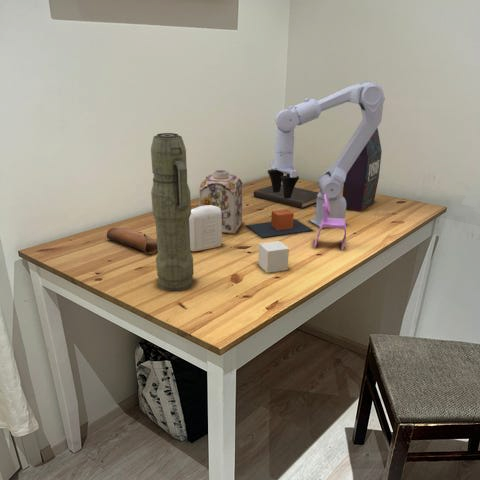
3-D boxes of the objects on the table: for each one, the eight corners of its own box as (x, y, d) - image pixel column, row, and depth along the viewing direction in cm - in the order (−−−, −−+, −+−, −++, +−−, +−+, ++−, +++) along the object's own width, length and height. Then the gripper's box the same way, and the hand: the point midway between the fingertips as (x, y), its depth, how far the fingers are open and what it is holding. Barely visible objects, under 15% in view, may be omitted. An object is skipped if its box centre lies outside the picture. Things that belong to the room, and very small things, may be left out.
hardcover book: (278, 189, 200) (278, 183, 199) (325, 200, 187) (326, 194, 186) (253, 196, 190) (253, 190, 188) (301, 208, 176) (302, 202, 175)
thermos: (176, 296, 115) (168, 140, 97) (147, 280, 122) (134, 133, 104) (205, 285, 120) (201, 136, 103) (175, 271, 127) (167, 129, 110)
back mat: (294, 220, 165) (294, 218, 165) (312, 231, 156) (312, 229, 156) (246, 226, 159) (246, 225, 159) (262, 238, 150) (262, 236, 149)
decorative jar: (208, 220, 164) (207, 165, 155) (242, 222, 162) (243, 167, 153) (199, 231, 154) (197, 174, 145) (235, 234, 152) (235, 176, 143)
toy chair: (344, 251, 141) (351, 200, 133) (314, 249, 142) (318, 198, 135) (344, 241, 148) (350, 192, 140) (315, 239, 149) (320, 190, 142)
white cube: (278, 261, 134) (279, 240, 131) (287, 269, 129) (289, 248, 126) (258, 264, 132) (258, 243, 129) (266, 272, 127) (267, 251, 124)
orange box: (286, 224, 160) (287, 209, 158) (292, 228, 157) (293, 213, 154) (270, 226, 158) (271, 211, 156) (277, 230, 155) (278, 215, 152)
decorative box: (375, 201, 186) (387, 123, 172) (361, 212, 174) (373, 129, 160) (355, 198, 190) (365, 121, 176) (339, 208, 177) (349, 127, 164)
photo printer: (216, 242, 146) (216, 201, 140) (224, 246, 143) (223, 205, 137) (186, 248, 141) (184, 206, 135) (193, 253, 138) (191, 210, 132)
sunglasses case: (168, 245, 142) (158, 229, 136) (154, 263, 139) (143, 247, 134) (128, 232, 151) (117, 216, 146) (114, 248, 149) (102, 233, 144)
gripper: (262, 148, 155) (261, 190, 162) (283, 157, 144) (281, 202, 151) (282, 146, 158) (279, 188, 165) (304, 155, 146) (301, 199, 153)
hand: (281, 195), depth 158 cm, fingers open, 7 cm apart
